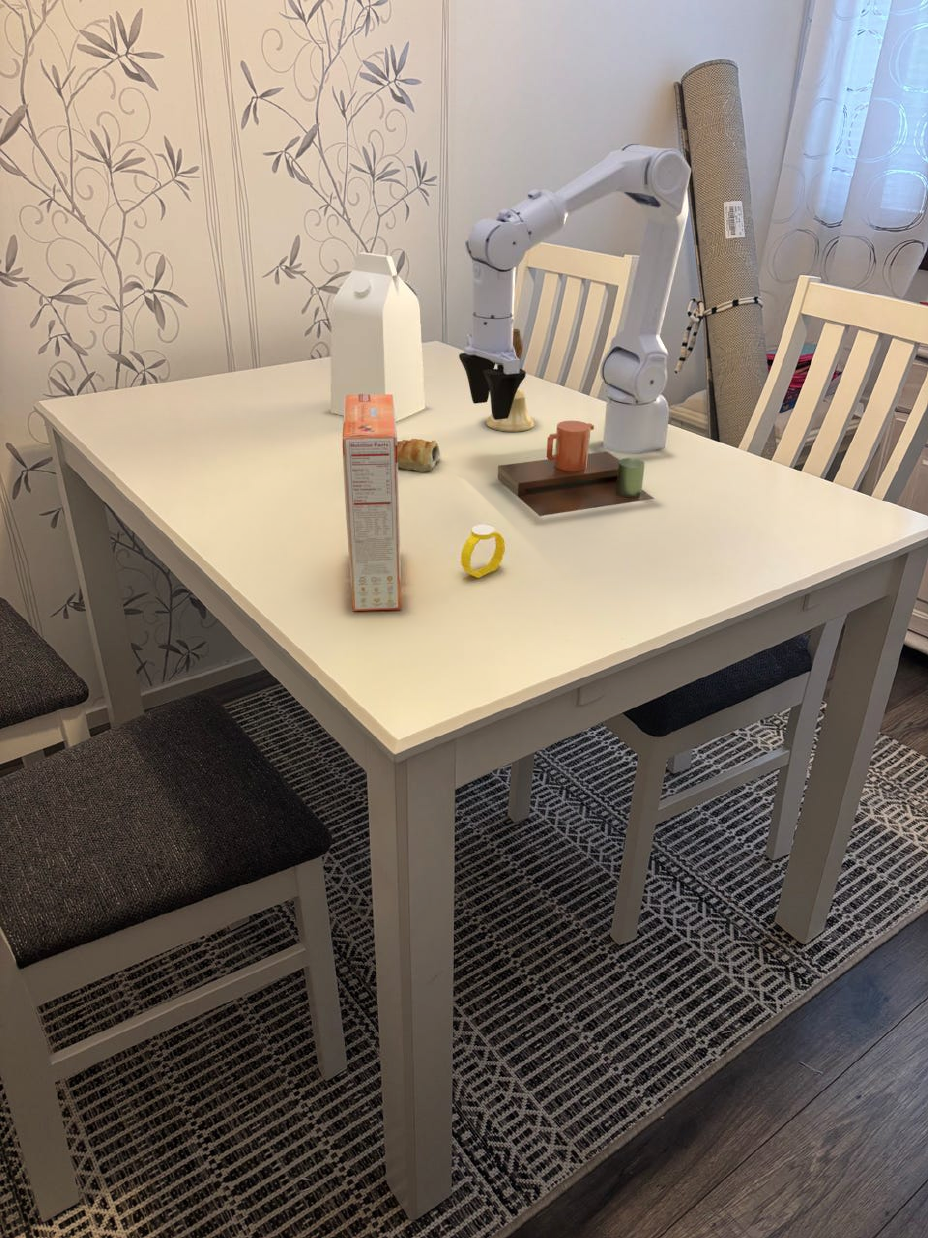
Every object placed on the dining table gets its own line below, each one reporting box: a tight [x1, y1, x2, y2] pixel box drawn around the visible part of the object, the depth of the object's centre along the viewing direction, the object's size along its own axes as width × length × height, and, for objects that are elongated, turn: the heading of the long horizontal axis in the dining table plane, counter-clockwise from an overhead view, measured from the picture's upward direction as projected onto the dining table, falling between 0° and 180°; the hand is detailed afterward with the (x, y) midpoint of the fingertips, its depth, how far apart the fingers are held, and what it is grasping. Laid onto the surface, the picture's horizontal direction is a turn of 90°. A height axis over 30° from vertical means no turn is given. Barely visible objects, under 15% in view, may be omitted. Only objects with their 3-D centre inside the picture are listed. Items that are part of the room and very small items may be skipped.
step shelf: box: [497, 451, 655, 517], centre depth 139 cm, size 18×14×3 cm
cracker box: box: [342, 394, 403, 612], centre depth 110 cm, size 14×6×21 cm, turn 5°
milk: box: [330, 251, 426, 423], centre depth 164 cm, size 12×12×26 cm
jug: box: [545, 420, 595, 472], centre depth 139 cm, size 7×5×6 cm
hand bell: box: [485, 328, 535, 433], centre depth 161 cm, size 8×8×16 cm
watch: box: [460, 524, 506, 579], centre depth 116 cm, size 6×3×6 cm, turn 132°
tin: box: [616, 457, 646, 497], centre depth 137 cm, size 4×4×4 cm
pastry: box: [397, 438, 441, 473], centre depth 148 cm, size 9×7×4 cm
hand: (490, 410), depth 140 cm, fingers open, 7 cm apart
